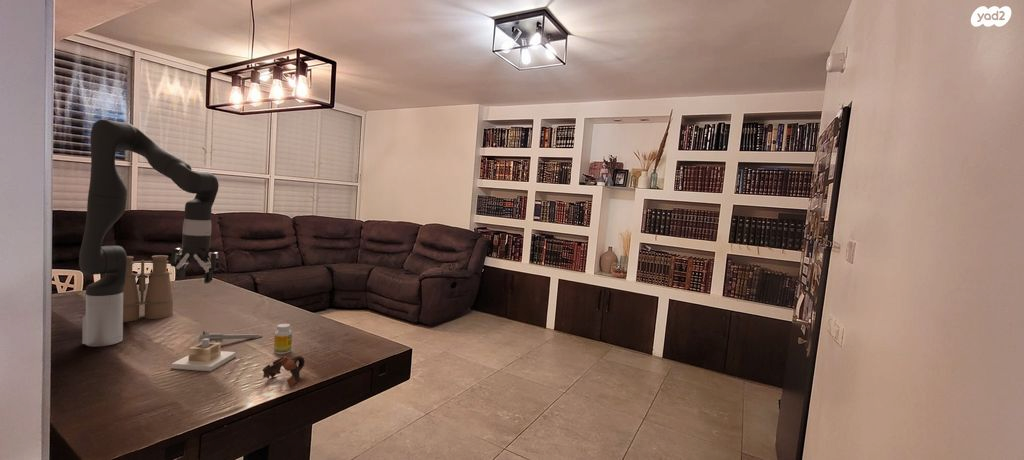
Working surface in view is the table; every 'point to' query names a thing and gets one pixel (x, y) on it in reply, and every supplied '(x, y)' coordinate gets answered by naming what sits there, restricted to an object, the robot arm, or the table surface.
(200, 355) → the hollow block
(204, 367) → the peg base plate
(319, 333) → the table surface
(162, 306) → the binoculars
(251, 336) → the caliper
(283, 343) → the supplement bottle
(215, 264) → the robot arm
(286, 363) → the brown curved piece
